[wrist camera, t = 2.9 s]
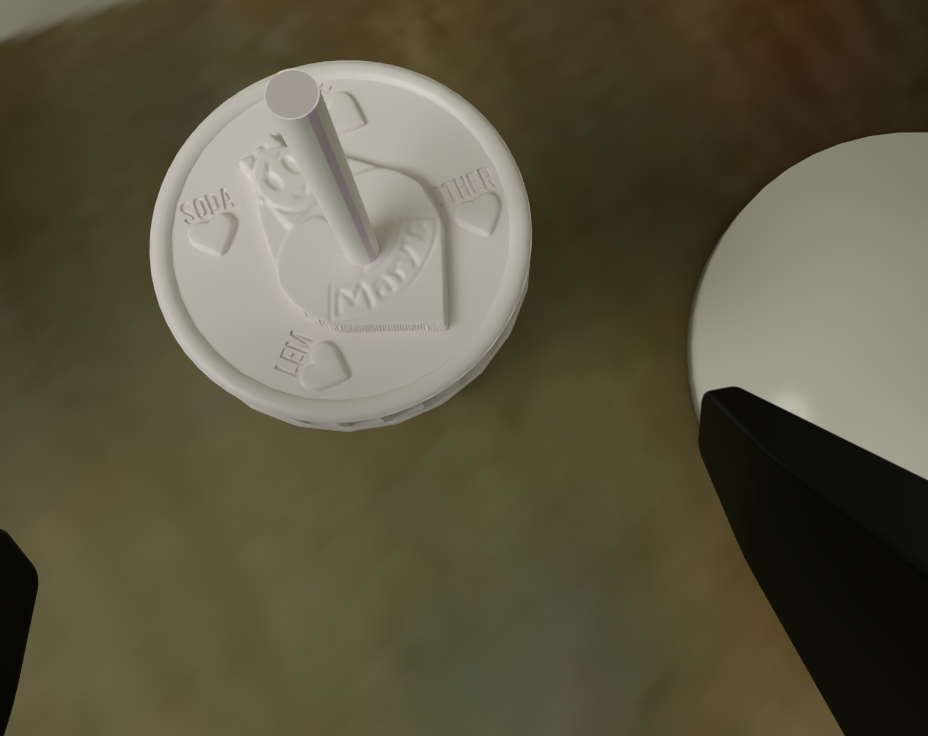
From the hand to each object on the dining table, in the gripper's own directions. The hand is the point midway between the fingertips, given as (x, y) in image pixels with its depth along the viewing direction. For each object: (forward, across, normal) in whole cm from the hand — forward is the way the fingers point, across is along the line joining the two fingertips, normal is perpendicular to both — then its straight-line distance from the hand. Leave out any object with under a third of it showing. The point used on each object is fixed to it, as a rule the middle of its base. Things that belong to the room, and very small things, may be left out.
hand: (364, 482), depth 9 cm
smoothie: (+11, 0, +5) cm, 12 cm away
